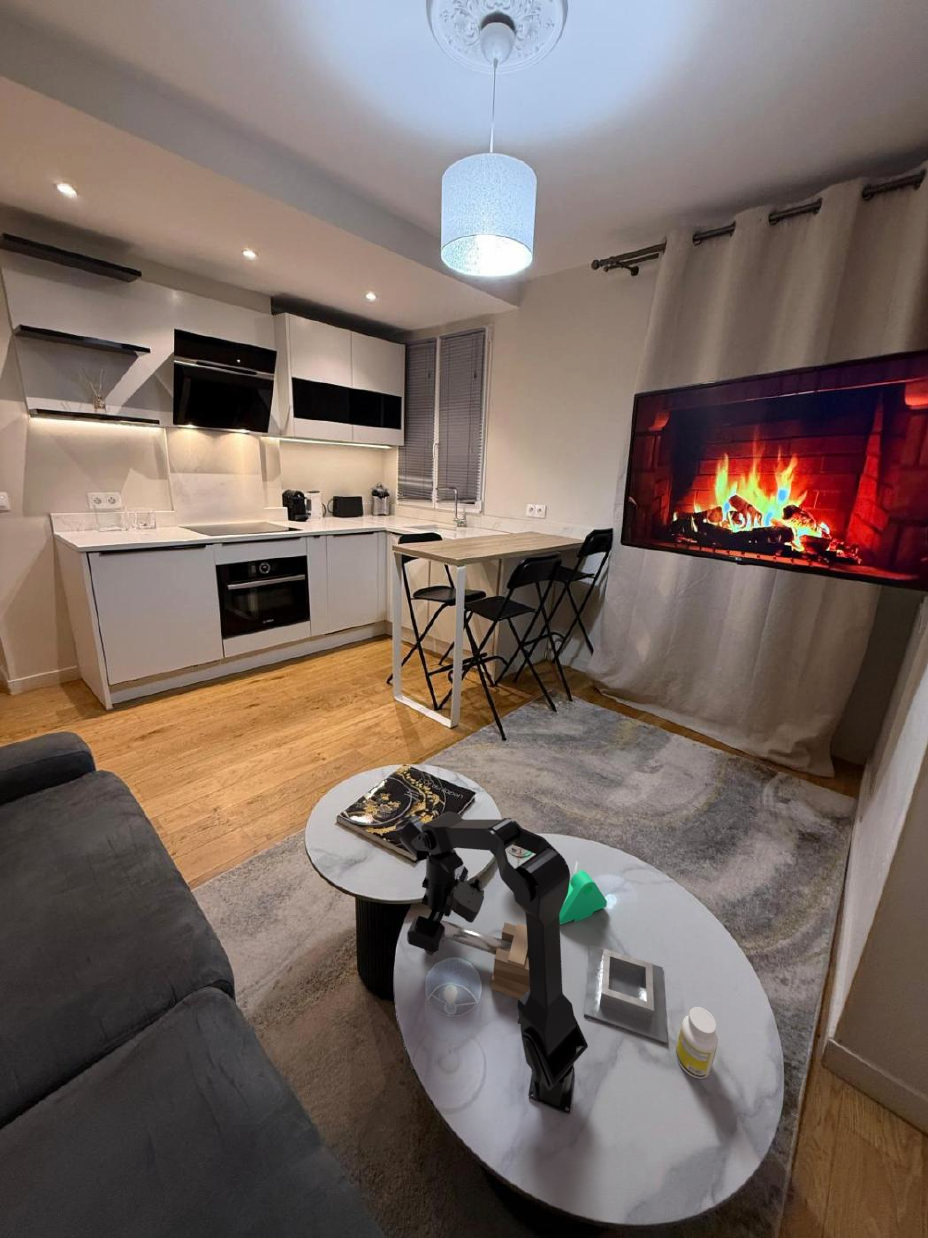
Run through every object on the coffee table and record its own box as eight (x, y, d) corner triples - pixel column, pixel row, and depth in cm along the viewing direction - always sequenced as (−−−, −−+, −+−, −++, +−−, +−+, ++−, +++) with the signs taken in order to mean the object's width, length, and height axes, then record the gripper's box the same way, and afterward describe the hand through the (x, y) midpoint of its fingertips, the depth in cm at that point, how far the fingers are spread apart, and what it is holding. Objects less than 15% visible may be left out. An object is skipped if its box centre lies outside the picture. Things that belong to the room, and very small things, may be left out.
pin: (513, 950, 96) (514, 939, 95) (509, 964, 94) (510, 952, 93) (430, 923, 101) (430, 912, 100) (424, 935, 99) (424, 924, 98)
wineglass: (516, 862, 121) (520, 823, 118) (536, 880, 116) (541, 839, 113) (496, 876, 117) (499, 835, 114) (516, 895, 112) (520, 853, 109)
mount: (533, 1004, 90) (536, 975, 88) (491, 989, 92) (493, 960, 90) (542, 954, 99) (545, 927, 97) (503, 942, 101) (506, 915, 99)
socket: (666, 1045, 84) (670, 1031, 83) (583, 1016, 88) (586, 1001, 87) (662, 969, 97) (665, 956, 96) (589, 947, 101) (591, 933, 100)
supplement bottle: (692, 1037, 85) (702, 997, 82) (718, 1072, 81) (730, 1031, 78) (668, 1049, 83) (677, 1009, 80) (692, 1086, 79) (704, 1044, 76)
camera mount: (584, 884, 116) (589, 849, 113) (605, 910, 109) (611, 874, 106) (541, 900, 111) (545, 864, 108) (560, 928, 105) (565, 891, 102)
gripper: (465, 927, 84) (462, 993, 89) (493, 850, 101) (489, 908, 106) (405, 908, 87) (405, 972, 92) (442, 836, 104) (441, 894, 109)
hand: (439, 934), depth 99 cm, fingers open, 9 cm apart
